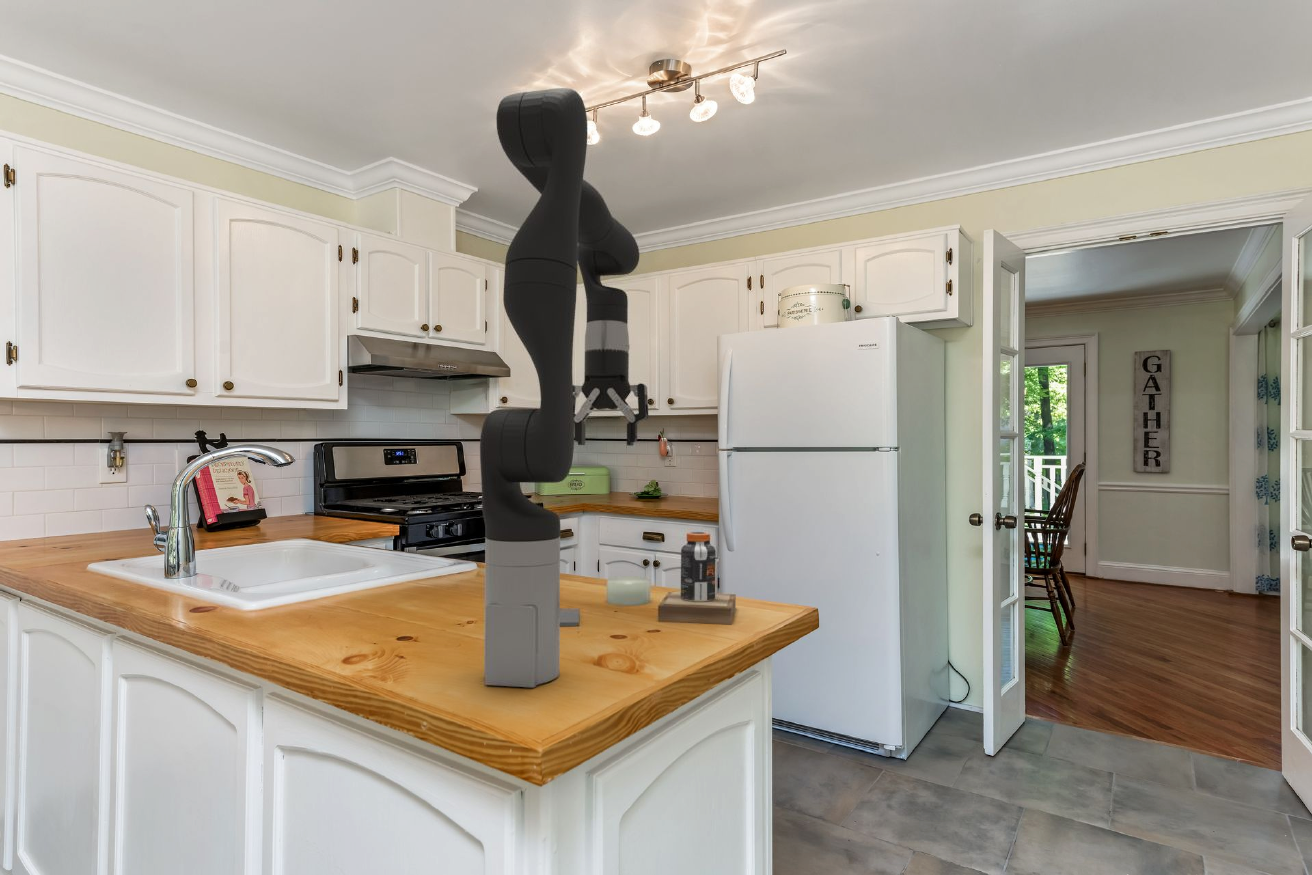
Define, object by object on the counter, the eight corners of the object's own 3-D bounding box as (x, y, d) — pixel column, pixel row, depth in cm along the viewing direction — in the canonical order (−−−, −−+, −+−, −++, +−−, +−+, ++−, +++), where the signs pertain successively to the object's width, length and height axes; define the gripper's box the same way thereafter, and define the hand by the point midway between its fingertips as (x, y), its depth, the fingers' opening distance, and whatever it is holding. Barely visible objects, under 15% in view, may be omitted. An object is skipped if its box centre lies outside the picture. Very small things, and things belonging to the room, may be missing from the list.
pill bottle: (713, 603, 124) (713, 534, 124) (677, 601, 125) (678, 533, 125) (717, 596, 130) (717, 530, 130) (683, 594, 131) (683, 530, 131)
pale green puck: (645, 607, 134) (645, 584, 134) (602, 605, 135) (602, 583, 135) (653, 598, 142) (653, 577, 142) (612, 596, 143) (612, 575, 143)
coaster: (579, 625, 119) (579, 622, 119) (515, 627, 118) (515, 623, 118) (579, 612, 129) (579, 608, 129) (520, 613, 128) (520, 609, 128)
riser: (731, 624, 120) (731, 607, 120) (658, 621, 122) (658, 604, 122) (735, 608, 132) (735, 593, 132) (668, 605, 134) (668, 590, 134)
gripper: (559, 348, 125) (558, 444, 124) (643, 346, 122) (642, 445, 122) (573, 354, 132) (572, 445, 132) (651, 352, 129) (651, 446, 129)
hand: (605, 445), depth 127 cm, fingers open, 8 cm apart
